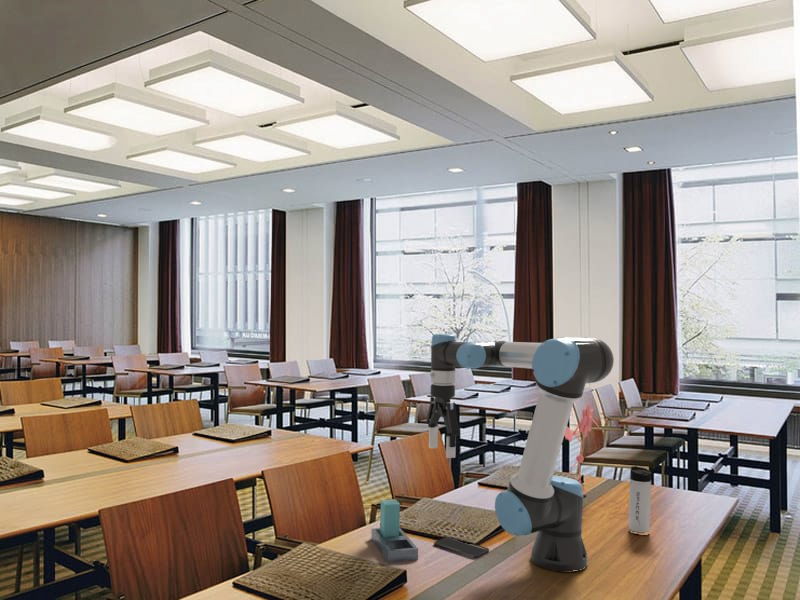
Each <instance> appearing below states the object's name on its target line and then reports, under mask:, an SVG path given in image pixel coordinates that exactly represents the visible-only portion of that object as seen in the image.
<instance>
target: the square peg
mask: <svg viewBox="0 0 800 600" xmlns="http://www.w3.org/2000/svg"><path fill="white" fill-rule="evenodd" d="M400 512H401V504H400V502H399V501H398V500H397V499H396V498H393V499H380V514H379V515H380V516H379V517H380V518H379V519H380V520H379V521H380V523H379V528H380V536H381V537H394V536H399V527H400V518H401V517H400V515H401V513H400Z"/></svg>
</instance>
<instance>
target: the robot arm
mask: <svg viewBox="0 0 800 600" xmlns="http://www.w3.org/2000/svg"><path fill="white" fill-rule="evenodd" d="M430 361H431V362H430V373H429V377H430V383H432V384H431V385H430V400H429V401H430V402H429V408H428V410H427V411H428V412H427V416H426V420H425V424H426V425H428V449H438V443H439V442H438V441H439V437H438V435H439V434H438V433H439V428H438V427H439V424H438V423H439V421H440V419H441V418H443V422H444V425H445V429H446V435H445V436H446V444H445V445H446V447H445V449H446V451H445V453H446V454H445V458H446V459H454V458H456V456H457V455H456V452H457V451H456V448H457V447H456V445H457V442H456V441H457V436H460V434H461V433H460V427H459V421H458V415H457V411H456V409H457V406H456V402H455V401H451V399H452V398H454V397H455V396H456V385H455V383H456V367H458V368H464V369H467V370H470V369H471V370H473V369H479V368H483V367H505V368H508V367H509V368H520V369H522V368H523V369H529V370H530V369H532V370H533V376H534V378H535V379H536V382H535V385H536V387H537V389H538V390H539V394H538V398H537V401H536V406H535V409H534V413H533V417H532V421H531V424H530V428H529V430H528V431H529V432H528V436H527V439H526V443H525V446H524V450H523V454H522V457H521V461H520V465H519V469H518V472H516V473H514V474H513V475H511V476H510V479H509V483H508V486H507V489H506V490H505V489H504V490H502V491H501V492H499V493H498V494H497V495H496V497H495V501H494V511H495V512H494V513H495V515H496V518H497V520H498V523H499V524H500V526H501V528H502V529H503V530H504V531H506V532H507V533H508V534H510V535H512V536H515V537H520V536H529V535H531V534H534V533H536V537H535V540H534V542H533V545H532V547H531V550H530V552H531V553H530V554H531V555H530V559H531V561H532V563H534V565H537V566H538V567H540V568H542V569H545V570H548V569H549V571H552V570H555V571H554V572H558V571H573V570H580V569H583V568H584V567H586V566H587V567H588V553H587V551H586V547H585V546H586V545H585V543H584V540H583V539H584V538H583V535H582V529H583V507H584V506H583V502H584V500H583V499H584V494H583V493H584V489H583V488H582V486H583V484H582V482H581V483H580V482H579V481H578V480H576V479H573V478H572V479H571V477H567V476H561V475H556V474H555V475H554V472H555V469H556V466H557V461H558V458H559V455H560V452H561V451H560V450H561V447H562V444H563V441H564V438H565V436H564V434H565V431H566V427H567V426H568V423H569V420H570V417H571V413H572V409H573V407H574V406H573V405H574V402H576V401H578V400H579V399H581V398H582V397H583V394H584V390H585V388H586V387H585V386H586V384H592V383H593V384H594V383H598V382H600V381H602V380H604V379H605V378H607V377H608V376H609V375H610V374H611V371H612V369H613V367H614V363H615V361H614V354H613V351H612V350H611V348H610V346H609V345H608V344H607V343H606V342H604V341H603V340H602V339H599V338H597V337H591V336H590V337H562V336H561V337H556V338H551V339H547V340H545V341H543V342H527V341H525V342H521V341H519V342H518V341H505V340H498V341H457V337H456V335H455V334H452V333H434V334H433V335H432V336H431V346H430ZM581 484H582V485H581ZM587 567H586V568H587ZM583 570H584V569H583ZM580 571H581V570H580Z"/></svg>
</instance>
